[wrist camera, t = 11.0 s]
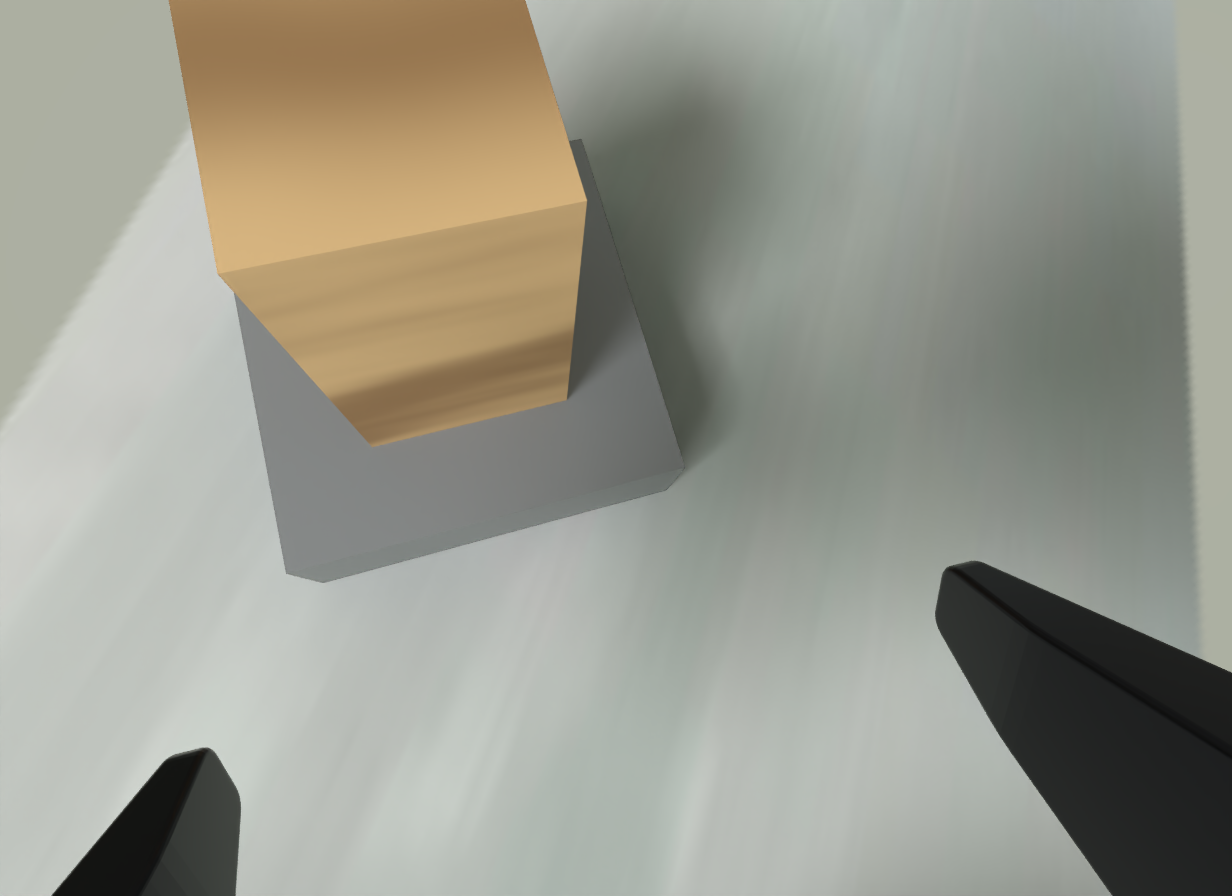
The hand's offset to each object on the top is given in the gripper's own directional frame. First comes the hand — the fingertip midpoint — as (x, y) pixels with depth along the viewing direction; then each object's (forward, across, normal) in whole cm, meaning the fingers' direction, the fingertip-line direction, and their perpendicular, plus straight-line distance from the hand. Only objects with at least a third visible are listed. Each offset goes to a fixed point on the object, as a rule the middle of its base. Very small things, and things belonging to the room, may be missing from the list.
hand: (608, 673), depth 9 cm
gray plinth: (+14, +2, +2) cm, 15 cm away
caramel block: (+12, +2, 0) cm, 12 cm away
